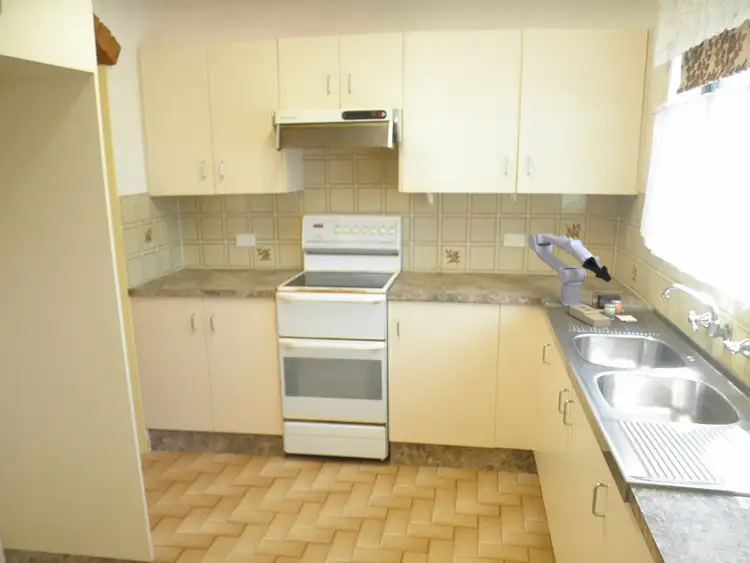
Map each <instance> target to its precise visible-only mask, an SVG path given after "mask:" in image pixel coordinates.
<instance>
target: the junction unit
mask: <svg viewBox="0 0 750 563" xmlns="http://www.w3.org/2000/svg"><path fill="white" fill-rule="evenodd" d="M623 294H624V291H623V290H593V291H592V298H591V300H592V301H591V306H590V307H591V308H593V309H596V310H598V311H599V312H600V313H604V306H605V304H607V303H610V304H611V300H620V301H622V302H621V312H620V313H624V312H625V309H623V308H622V307H623V306H622V303H623Z"/></svg>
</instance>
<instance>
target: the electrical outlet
mask: <svg viewBox="0 0 750 563" xmlns="http://www.w3.org/2000/svg"><path fill="white" fill-rule="evenodd" d="M568 307H569V310H568V315H570V316H572V317H574V318H575V319H578V320H579V321H581V322H583V323H585V324H586V325H589V326H591V327H593V328H598V327H599V328H600V327H610V326H612V321H611V318H609V317H606V316H604V314H603V313H601V312H599V311H598V310H596V309H593V308H591V307H592V306H589V305H587V304H582V305H572V306H568Z"/></svg>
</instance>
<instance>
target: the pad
mask: <svg viewBox="0 0 750 563" xmlns="http://www.w3.org/2000/svg"><path fill="white" fill-rule="evenodd" d="M615 318H616V319H617V320H619V321H621V322H622V321H626V322H627V323H628V322H629V323H630V322H638V319H637V318H635V317H633V316H632V315H620V316H616V317H615ZM626 322H625V323H626Z"/></svg>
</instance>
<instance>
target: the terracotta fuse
mask: <svg viewBox="0 0 750 563" xmlns="http://www.w3.org/2000/svg"><path fill="white" fill-rule="evenodd" d="M621 302H622V303H623V300H622V301H620V300H611V304H615V316H614V318H616V316H621V313H622V312H621V308H622V307H621Z"/></svg>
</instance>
